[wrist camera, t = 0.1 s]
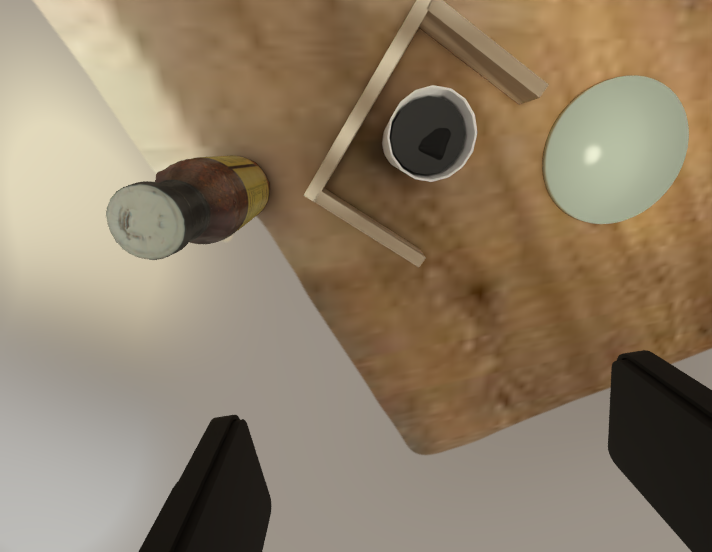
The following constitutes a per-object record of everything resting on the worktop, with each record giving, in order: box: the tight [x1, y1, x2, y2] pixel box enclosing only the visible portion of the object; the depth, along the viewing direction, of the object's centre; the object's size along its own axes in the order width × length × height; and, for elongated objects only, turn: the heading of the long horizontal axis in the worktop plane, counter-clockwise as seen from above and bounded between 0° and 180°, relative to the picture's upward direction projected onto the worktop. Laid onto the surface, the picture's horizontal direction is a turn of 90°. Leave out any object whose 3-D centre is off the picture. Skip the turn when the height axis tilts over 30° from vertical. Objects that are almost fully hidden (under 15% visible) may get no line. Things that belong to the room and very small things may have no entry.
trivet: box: [543, 76, 689, 224], centre depth 37 cm, size 14×14×1 cm
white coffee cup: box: [382, 85, 477, 182], centre depth 32 cm, size 7×7×10 cm
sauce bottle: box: [106, 156, 270, 260], centre depth 28 cm, size 6×6×20 cm
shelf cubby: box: [304, 0, 549, 267], centre depth 34 cm, size 19×13×4 cm
